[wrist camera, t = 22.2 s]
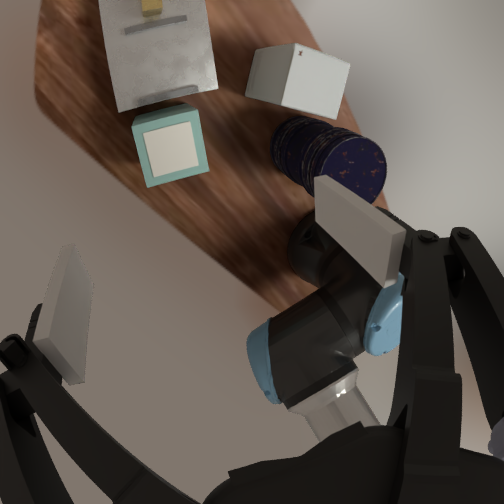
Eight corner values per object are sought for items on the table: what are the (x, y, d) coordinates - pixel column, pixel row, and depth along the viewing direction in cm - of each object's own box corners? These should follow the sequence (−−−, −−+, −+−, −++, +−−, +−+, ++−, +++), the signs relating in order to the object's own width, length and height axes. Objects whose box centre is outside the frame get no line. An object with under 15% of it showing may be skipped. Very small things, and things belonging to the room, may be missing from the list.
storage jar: (269, 114, 42) (322, 134, 30) (329, 115, 45) (392, 137, 33) (268, 178, 47) (314, 221, 35) (324, 174, 50) (380, 212, 38)
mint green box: (195, 151, 42) (209, 171, 33) (146, 164, 40) (147, 188, 32) (186, 103, 38) (198, 110, 29) (135, 116, 36) (131, 127, 28)
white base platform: (210, 87, 37) (220, 88, 33) (122, 109, 35) (117, 113, 30) (187, -67, 23) (194, -85, 18) (97, -49, 21) (92, -66, 16)
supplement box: (242, 96, 39) (278, 105, 29) (254, 48, 36) (295, 40, 26) (290, 107, 42) (337, 121, 32) (302, 62, 39) (353, 62, 29)
